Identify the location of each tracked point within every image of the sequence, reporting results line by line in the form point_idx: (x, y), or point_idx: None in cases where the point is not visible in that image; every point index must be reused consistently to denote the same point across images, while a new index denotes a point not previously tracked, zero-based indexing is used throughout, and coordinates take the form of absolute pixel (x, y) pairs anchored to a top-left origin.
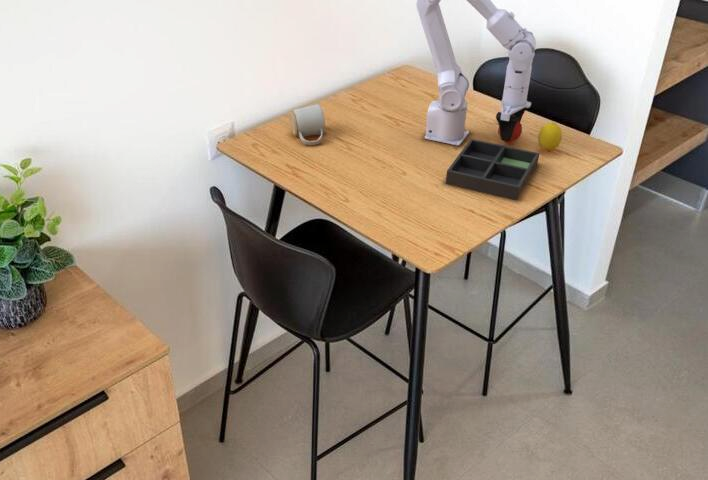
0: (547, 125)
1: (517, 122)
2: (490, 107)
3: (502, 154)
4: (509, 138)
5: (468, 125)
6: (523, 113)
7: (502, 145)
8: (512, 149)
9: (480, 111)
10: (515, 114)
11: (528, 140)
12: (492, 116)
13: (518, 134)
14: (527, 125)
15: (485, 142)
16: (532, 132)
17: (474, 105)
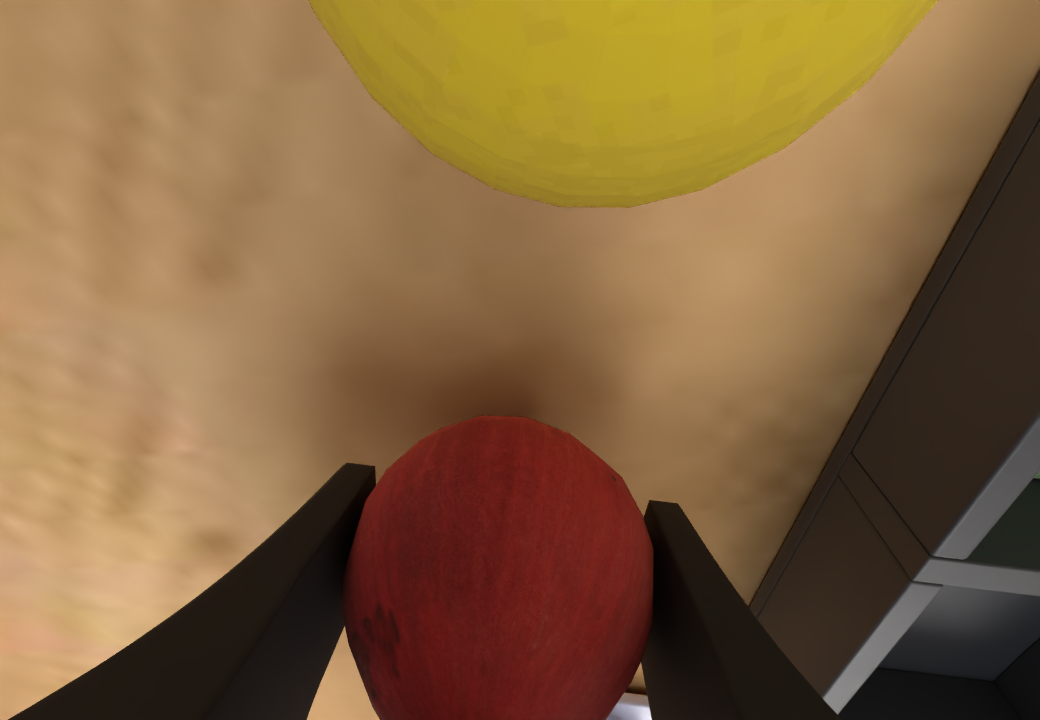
0: None
1: (519, 650)
2: (4, 603)
3: (1013, 527)
4: (699, 539)
5: (352, 675)
6: (192, 651)
7: (913, 587)
8: (1015, 483)
9: (112, 642)
10: (277, 702)
11: (373, 272)
12: (123, 581)
13: (592, 476)
14: (56, 328)
15: (841, 702)
16: (166, 256)
17: (63, 671)
